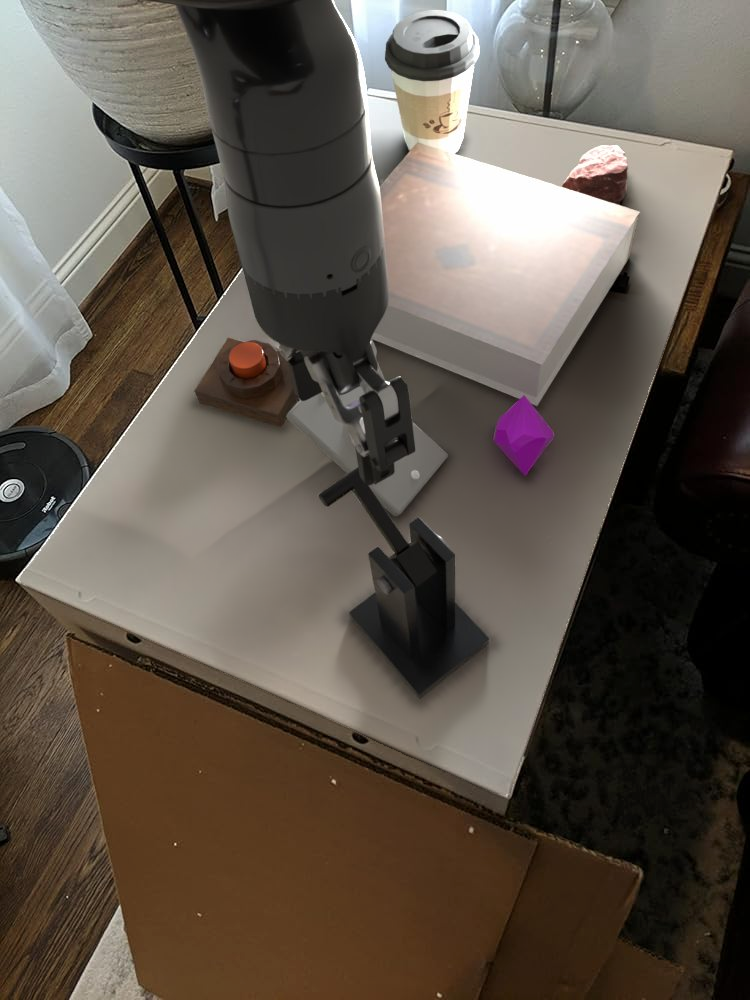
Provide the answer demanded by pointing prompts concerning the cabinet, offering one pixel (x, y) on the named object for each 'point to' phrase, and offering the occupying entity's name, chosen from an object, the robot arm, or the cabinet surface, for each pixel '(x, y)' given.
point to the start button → (247, 360)
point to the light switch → (340, 448)
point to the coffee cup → (432, 76)
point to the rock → (600, 174)
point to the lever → (383, 527)
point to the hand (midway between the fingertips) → (343, 433)
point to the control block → (249, 387)
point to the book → (494, 268)
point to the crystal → (522, 434)
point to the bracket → (418, 616)
